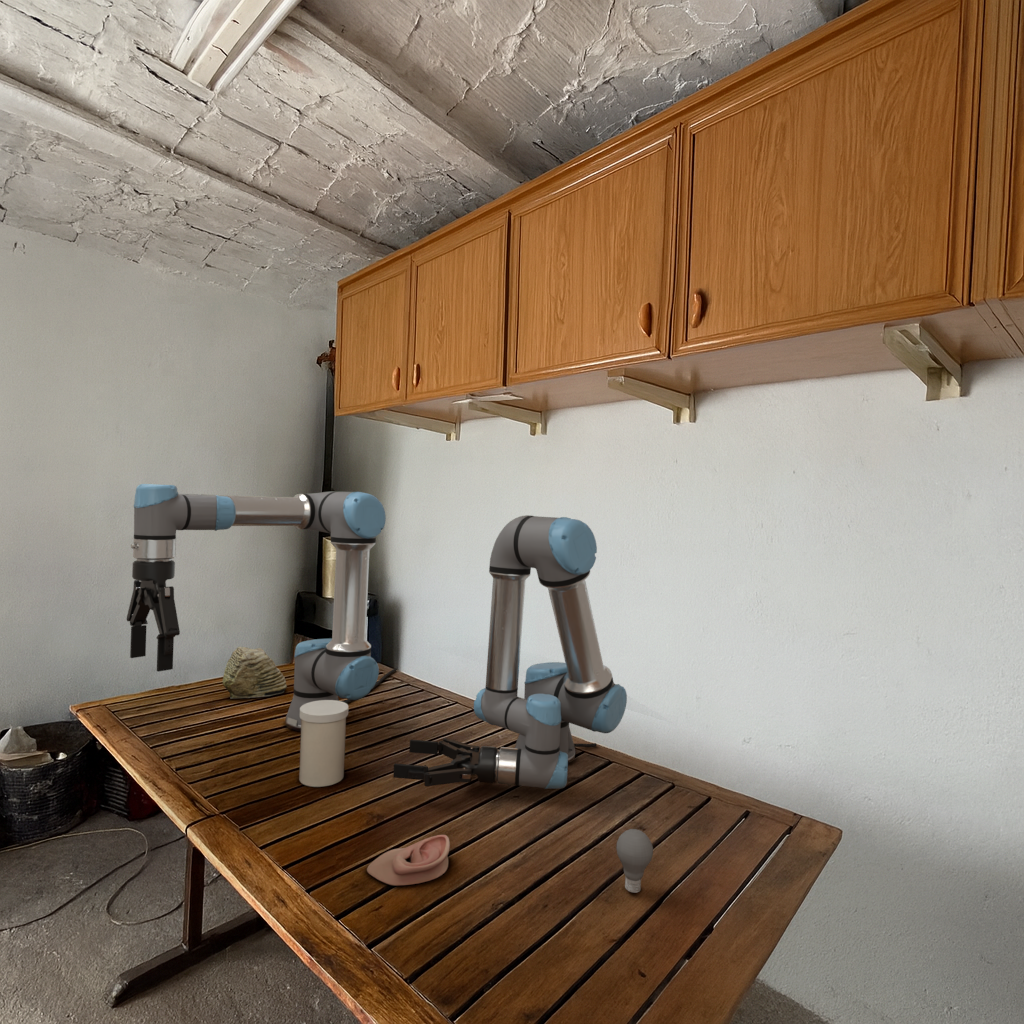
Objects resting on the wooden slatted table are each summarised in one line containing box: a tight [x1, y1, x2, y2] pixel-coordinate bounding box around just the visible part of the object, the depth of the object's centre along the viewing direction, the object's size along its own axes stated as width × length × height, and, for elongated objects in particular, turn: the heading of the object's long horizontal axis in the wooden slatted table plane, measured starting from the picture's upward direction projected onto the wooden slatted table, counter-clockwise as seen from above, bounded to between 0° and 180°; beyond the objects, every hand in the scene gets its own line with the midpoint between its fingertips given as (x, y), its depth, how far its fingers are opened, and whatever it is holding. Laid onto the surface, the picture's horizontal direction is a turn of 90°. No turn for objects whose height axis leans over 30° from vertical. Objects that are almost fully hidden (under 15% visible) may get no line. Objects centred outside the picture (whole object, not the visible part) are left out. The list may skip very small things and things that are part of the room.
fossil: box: [222, 646, 288, 699], centre depth 198 cm, size 9×18×15 cm, turn 132°
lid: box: [300, 700, 349, 723], centre depth 143 cm, size 10×10×2 cm
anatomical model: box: [366, 834, 451, 886], centre depth 109 cm, size 13×4×12 cm
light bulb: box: [615, 828, 654, 894], centre depth 106 cm, size 6×6×10 cm
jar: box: [298, 717, 347, 788], centre depth 143 cm, size 10×10×16 cm
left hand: (150, 663), depth 129 cm, fingers open, 13 cm apart
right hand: (402, 757), depth 141 cm, fingers open, 13 cm apart
